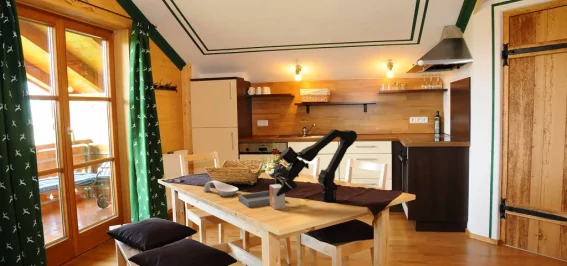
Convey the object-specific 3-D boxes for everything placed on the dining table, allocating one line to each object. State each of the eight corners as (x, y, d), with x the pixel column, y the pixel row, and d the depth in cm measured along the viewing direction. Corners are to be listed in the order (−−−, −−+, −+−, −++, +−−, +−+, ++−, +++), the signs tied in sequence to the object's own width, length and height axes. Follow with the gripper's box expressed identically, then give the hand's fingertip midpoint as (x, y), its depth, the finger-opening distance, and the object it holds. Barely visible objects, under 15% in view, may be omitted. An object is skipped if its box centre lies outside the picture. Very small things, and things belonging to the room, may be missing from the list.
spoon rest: (242, 194, 215) (242, 181, 215) (228, 198, 206) (227, 185, 205) (213, 189, 229) (212, 178, 228) (198, 193, 219) (197, 181, 218)
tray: (273, 195, 208) (272, 190, 208) (285, 202, 194) (285, 196, 194) (238, 200, 200) (238, 194, 200) (248, 207, 186) (248, 201, 185)
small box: (269, 205, 188) (269, 184, 188) (280, 204, 190) (279, 183, 189) (274, 209, 181) (273, 188, 180) (285, 208, 183) (284, 186, 182)
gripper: (277, 156, 194) (257, 180, 191) (290, 161, 176) (268, 187, 173) (292, 170, 197) (273, 193, 194) (306, 176, 179) (284, 202, 177)
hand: (274, 193), depth 185 cm, fingers closed on small box, 8 cm apart
